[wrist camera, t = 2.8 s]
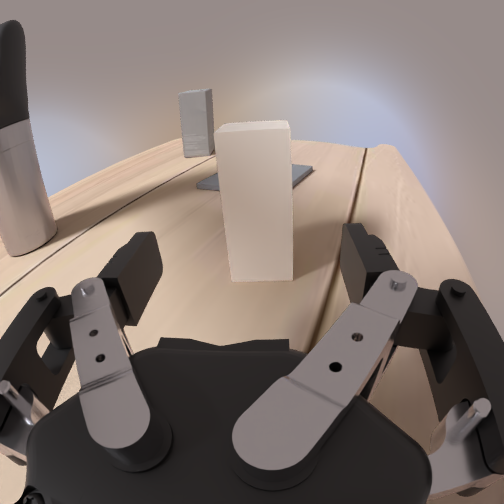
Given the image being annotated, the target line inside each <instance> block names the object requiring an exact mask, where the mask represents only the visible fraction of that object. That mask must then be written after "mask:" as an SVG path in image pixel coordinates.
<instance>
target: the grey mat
mask: <svg viewBox="0 0 504 504" xmlns="http://www.w3.org/2000/svg"><path fill="white" fill-rule="evenodd" d="M311 171H312V166H305V165H295V164H292V187H294V186H295V185H296V184H297V183H298V182H300V181H301V180H302V179H303V178H304V177H306V176H307V175H308V174H309V173H310V172H311ZM197 188H199V189H209V190H219V191H220V187H219V179H218V173H216V174H214V175H212V176H210V177H208V178H206V179H204V180H202V181H200V182H199V183H197Z"/></svg>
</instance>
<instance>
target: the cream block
mask: <svg viewBox="0 0 504 504" xmlns="http://www.w3.org/2000/svg"><path fill="white" fill-rule="evenodd" d="M213 134H214V143H215V152H216V161H217V170H218V179H219V187H220V196H221V204H222V212H223V220H224V228H225V236H226V243H227V251H228V259H229V266H230V273H231V281H232V282H259V281H293V199H292V160H291V135H290V127H289V124H288V122H287V120H275V121H253V122H238V123H226V124H224V125H223V126H221V127H220V128H219V129H218V130H216V131H215V132H214V133H213Z"/></svg>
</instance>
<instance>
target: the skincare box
mask: <svg viewBox="0 0 504 504" xmlns="http://www.w3.org/2000/svg"><path fill="white" fill-rule="evenodd" d="M179 105H180V117H181V128H182V139H183V150H184V157H185V158H186V157H199V156H210V155H211V153H212V151H213V150H214V148H215V143H214V134H213V133H214V121H213V102H212V89H203V90H191V91H186V92H183V93H179Z"/></svg>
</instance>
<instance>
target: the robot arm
mask: <svg viewBox="0 0 504 504" xmlns="http://www.w3.org/2000/svg"><path fill="white" fill-rule="evenodd" d="M56 232H57V226H56V223H55V220H54V217H53V213H52V210H51V207H50V203H49V200H48V197H47V193H46V190H45V186H44V183H43V179H42V175H41V171H40V167H39V163H38V158H37V154H36V149H35V145H34V140H33V135H32V130H31V124H30V119H29V112H28V96H27V86H26V46H25V35H24V31H23V28H22V26H21V24H20V23H19V22H18V21H16V20H10V21H7V22H5V23H2V24H0V235H1V238H2V240H3V243H4V245H5V248H6V250H7V253H8V254H9V255H10V256H18V255H22V254H25V253H28V252H30V251H32V250H34V249H36V248H38V247H40V246H41V245H43V244H44V243H46V242H47V241H48V240H50V239H51V238H52V237H53V236H54V235H55V233H56ZM340 267H341V272H342V276H343V279H344V282H345V285H346V289H347V292H348V295H349V299H350V302H351V304H350V305H349V306H348V307H347V308H346V310H345V311H344V312H343V313H342V315H341V316H340V317H339V318H338V319H337V321H336V322H335V323H334V324H333V326H332V327H331V328H330V329H329V330H328V332H327V333H326V334H325V335H324V336H323V338H322V339H321V340H320V341H319V342H318V343H317V345H316V346H315V347H314V348H313V349H312V350H311V351H310V353H309V354H307V353H304V352H301V351H297V350H293V349H289V339H275V340H252V341H247V342H242V343H236V344H231V345H225V346H217V345H213V344H209V343H205V342H201V341H197V340H193V339H183V338H163V337H161V338H160V340H159V343H158V345H157V347H152V348H148V349H145V350H142V351H139V352H137V353H135V354H134V353H133V351H132V348H131V346H130V343H129V341H128V338H127V336H126V334H125V331H124V329H123V328H124V326H125V325H127V326H137V324H138V322H139V320H140V318H141V316H142V314H143V312H144V309H145V307H146V305H147V303H148V301H149V299H150V297H151V295H152V293H153V291H154V289H155V288H156V286H157V284H158V282H159V280H160V278H161V276H162V272H163V264H162V260H161V256H160V252H159V248H158V244H157V240H156V236H155V234H154V232H152V231H151V232H137V233H135V235H134V236H133V237H132V238H131V239H130V241H129V242H128V243H127V244H125V245H124V246H123V247H121V248H120V249H118V250H117V252H116V253H115V254H114V255H113V258H111V259H110V260H109V263H107V264H106V266H105V267H104V268H103V270H102V271H101V272H100V273H99V275H98V276H97V277H95V278H88V279H85V280H83V281H81V282H80V283H78V284H77V285H76V286H75V287H74V288H73V290H72V292H71V295H67V296H62V297H59V296H58V294H57V292H56V290H55V289H54V288H52V287H46V288H43V289H40V290H39V291H37V292H36V293H34V294H33V295H32V296H31V297H30V299H29V300H28V301H27V303H26V304H25V305H24V307H23V308H22V309H21V311H20V312H19V313H18V315H17V316H16V317H15V319H14V320H13V322H12V323H11V324H10V326H9V327H8V329H7V330H6V332H5V333H4V335H3V336H2V338H1V339H0V453H1V454H3V455H5V456H7V457H8V458H9V459H11V460H12V461H13V462H15V463H16V464H18V465H21V466H24V465H27V473H26V483H25V489H24V492H23V494H22V496H21V498H20V499H19V500H18V501H17V502H16V503H14V504H426V501H429V500H433V499H437V498H440V497H444V496H447V495H450V494H453V493H457V494H458V495H460V496H464V497H468V496H472V495H474V494H476V493H478V492H480V491H481V490H483V489H485V488H486V487H488V486H490V485H491V484H493V483H495V482H496V481H498V480H499V479H501V478H502V477H504V342H503V340H502V339H501V336H500V335H499V333H498V331H497V329H496V327H495V326H494V324H493V322H492V320H491V319H490V317H489V315H488V313H487V312H486V310H485V308H484V307H483V305H482V303H481V302H480V300H479V298H478V297H477V295H476V294H475V292H474V291H473V289H472V288H471V287H470V286H469V285H468V284H466V283H464V282H462V281H460V280H455V279H448V280H445V281H443V282H442V283H441V285H440V288H439V291H437V290H430V289H424V288H420V287H418V284H417V281H416V280H415V278H414V277H413V276H411V275H410V274H408V273H406V272H403V271H400V270H399V269H398V267H397V265H396V263H395V262H394V260H393V258H392V256H391V255H390V253H389V251H388V250H387V249H386V246H385V245H384V243H383V241H382V240H381V239H379V238H378V237H376V236H375V235H368V234H367V232H366V230H365V229H364V227H363V225H362V224H361V223H351V224H343V228H342V241H341V254H340ZM43 332H45V334H46V336H47V337H48V339H49V340H50V344H49V345H48V347H47V349H46V351H45V353H44V354H43V356H42V358H40V356H39V355H38V353H37V349H36V346H37V342H38V340H39V338H40V336H41V335H42V333H43ZM398 346H404V347H411V348H417V349H419V351H420V354H421V357H422V360H423V363H424V367H425V370H426V373H427V377H428V380H429V384H430V387H431V391H432V394H433V398H434V402H435V406H436V410H437V414H438V418H439V422H440V423H439V424H438V426H437V427H436V428H435V429H434V431H433V433H432V435H431V440H430V453H429V455H428V456H427V454H426V452H425V451H424V449H423V448H422V447H421V446H420V445H419V444H418V443H417V442H416V441H415V440H414V439H412V438H411V437H410V436H409V435H407V434H406V433H405V432H404V431H403V430H401V429H400V428H399V427H398V426H397V425H395V424H394V423H393V422H392V421H391V420H389V419H388V418H387V417H386V416H385V415H383V414H382V413H381V412H380V411H379V410H377V409H376V408H375V407H374V406H373V405H372V404H370V403H369V401H370V399H371V397H372V395H373V393H374V391H375V389H376V387H377V385H378V383H379V382H380V380H381V378H382V376H383V374H384V373H385V371H386V369H387V367H388V365H389V364H390V362H391V360H392V358H393V356H394V354H395V352H396V350H397V349H398ZM75 359H76V365H77V370H78V375H79V379H80V384H81V389H80V390H79V392H78V393H77V394H75V395H74V396H72V397H71V398H69V399H68V400H67V401H65V402H64V403H62V404H61V405H59V406H58V407H56V408H55V409H54V410H53V408H54V406H55V403H56V401H57V399H58V396H59V394H60V392H61V389H62V387H63V385H64V383H65V380H66V378H67V376H68V374H69V372H70V370H71V368H72V365H73V363H74V361H75Z"/></svg>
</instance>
